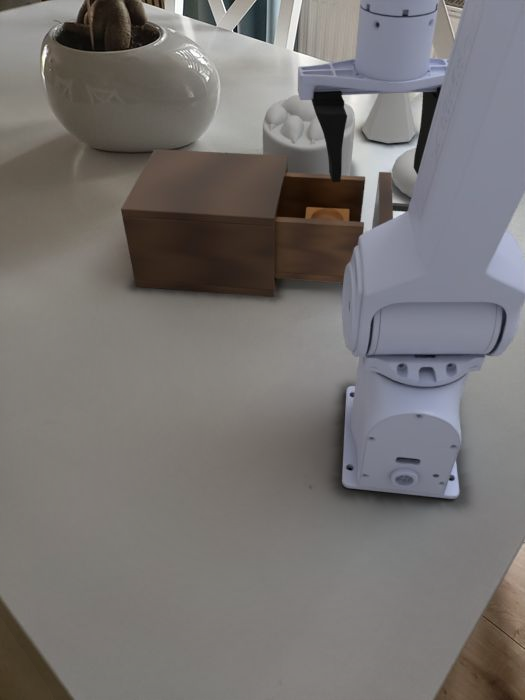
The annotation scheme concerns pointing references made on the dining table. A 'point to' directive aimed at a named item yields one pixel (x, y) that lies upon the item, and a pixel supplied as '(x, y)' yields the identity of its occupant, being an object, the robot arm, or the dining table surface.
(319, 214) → the block with oval recess
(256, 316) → the dining table surface
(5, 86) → the dining table surface
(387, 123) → the flask
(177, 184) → the cabinet
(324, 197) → the drawer
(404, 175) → the donut
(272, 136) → the lumpy-topped squat cylinder
